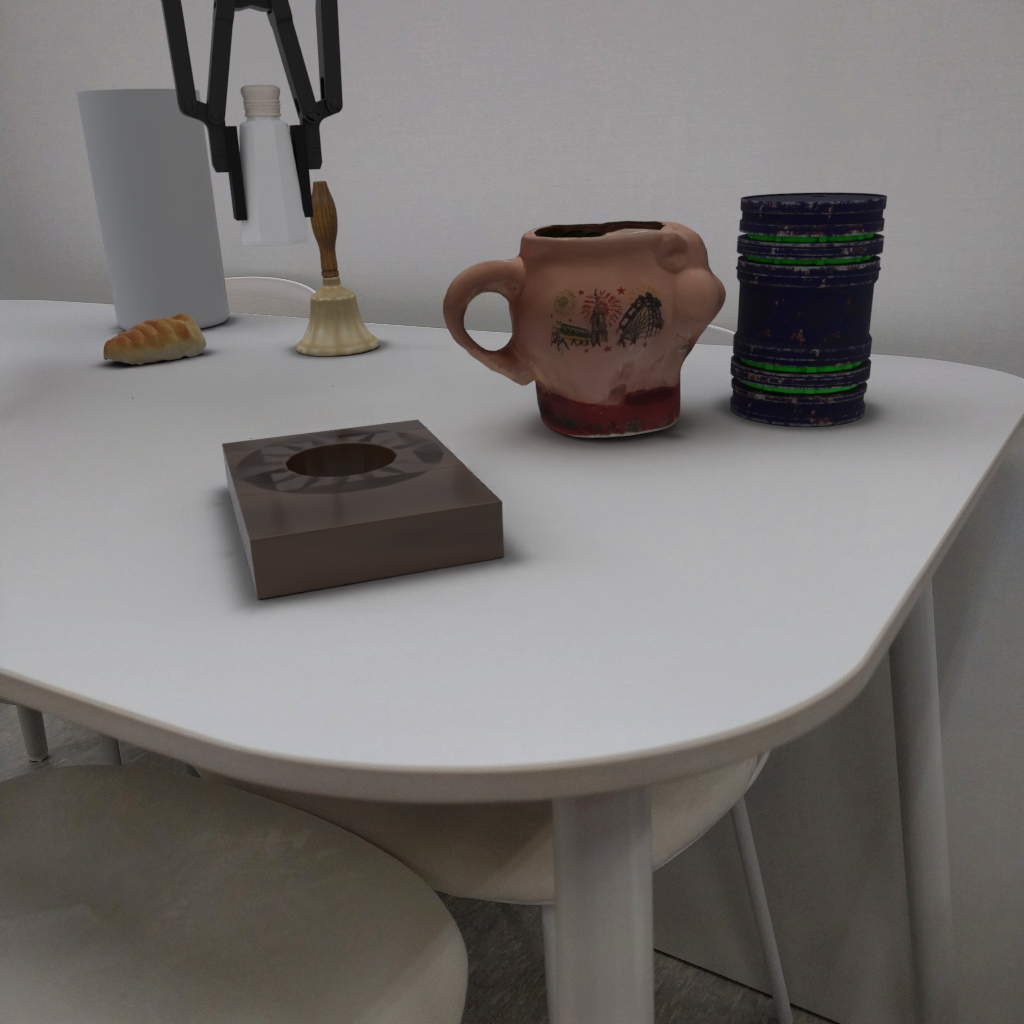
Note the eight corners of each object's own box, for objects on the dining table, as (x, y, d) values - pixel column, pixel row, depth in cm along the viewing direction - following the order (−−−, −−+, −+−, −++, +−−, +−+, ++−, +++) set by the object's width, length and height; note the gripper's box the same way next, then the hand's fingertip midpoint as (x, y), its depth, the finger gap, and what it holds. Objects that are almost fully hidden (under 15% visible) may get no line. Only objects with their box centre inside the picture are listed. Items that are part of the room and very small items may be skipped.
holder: (228, 490, 58) (221, 443, 57) (421, 464, 62) (418, 419, 61) (257, 600, 44) (249, 540, 43) (504, 557, 48) (502, 500, 47)
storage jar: (857, 432, 66) (881, 201, 60) (714, 419, 70) (724, 202, 64) (873, 397, 74) (895, 191, 69) (744, 387, 78) (755, 192, 73)
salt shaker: (254, 248, 71) (235, 83, 67) (230, 242, 75) (211, 87, 71) (323, 242, 73) (309, 84, 69) (296, 237, 78) (281, 87, 74)
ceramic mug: (488, 474, 60) (479, 242, 55) (426, 425, 70) (413, 226, 65) (757, 429, 67) (770, 220, 62) (664, 391, 77) (669, 210, 72)
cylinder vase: (239, 313, 120) (210, 92, 111) (217, 331, 108) (183, 87, 99) (136, 317, 119) (99, 96, 110) (103, 336, 107) (58, 91, 98)
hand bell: (318, 360, 92) (300, 184, 87) (283, 347, 99) (264, 182, 93) (394, 347, 97) (382, 179, 91) (355, 336, 103) (342, 178, 97)
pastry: (127, 371, 90) (120, 330, 89) (90, 363, 94) (83, 324, 93) (213, 352, 97) (207, 314, 96) (175, 346, 101) (169, 309, 100)
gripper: (95, -171, 59) (154, 227, 68) (373, -151, 64) (395, 215, 73) (99, -140, 66) (152, 219, 74) (350, -124, 71) (374, 209, 80)
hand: (273, 217), depth 74 cm, fingers closed on salt shaker, 4 cm apart
